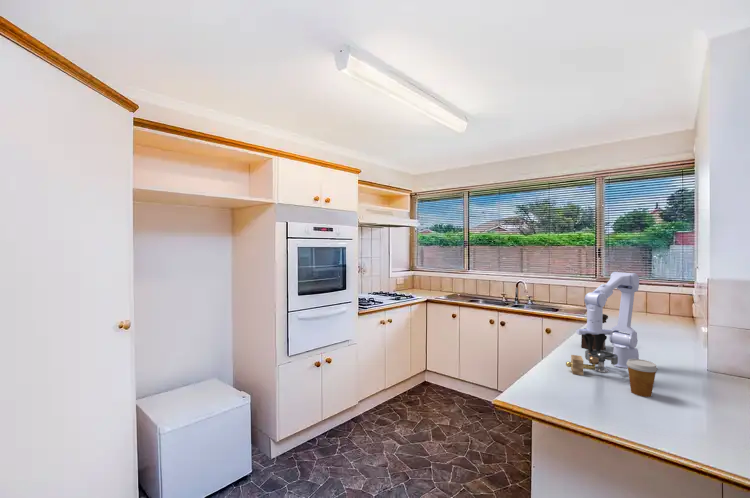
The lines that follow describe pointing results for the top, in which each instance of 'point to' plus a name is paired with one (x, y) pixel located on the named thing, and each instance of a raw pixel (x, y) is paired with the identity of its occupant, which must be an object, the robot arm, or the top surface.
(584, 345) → the coffee grinder
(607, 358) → the locking wheel
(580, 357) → the block
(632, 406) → the top surface
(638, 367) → the disposable coffee cup
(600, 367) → the axle post
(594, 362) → the brass bar with knob
